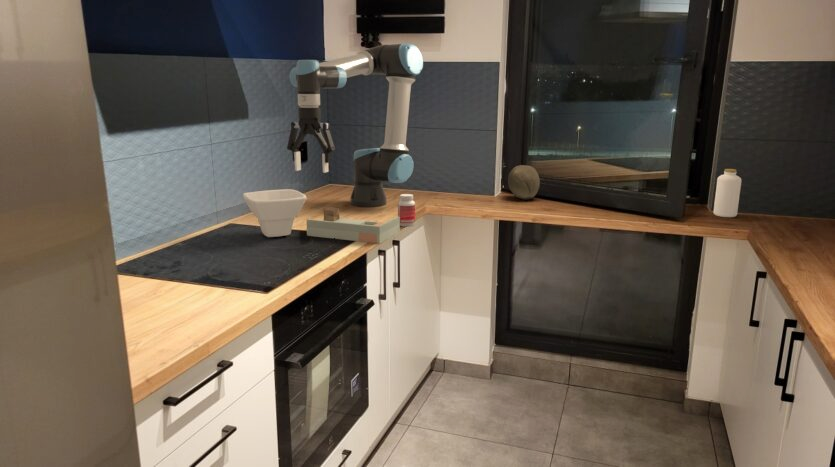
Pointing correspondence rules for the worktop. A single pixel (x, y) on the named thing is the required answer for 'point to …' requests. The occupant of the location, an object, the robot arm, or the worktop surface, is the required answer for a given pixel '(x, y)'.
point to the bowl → (275, 209)
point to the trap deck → (354, 229)
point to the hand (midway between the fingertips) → (311, 171)
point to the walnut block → (331, 214)
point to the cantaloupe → (524, 182)
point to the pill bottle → (406, 210)
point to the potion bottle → (727, 194)
